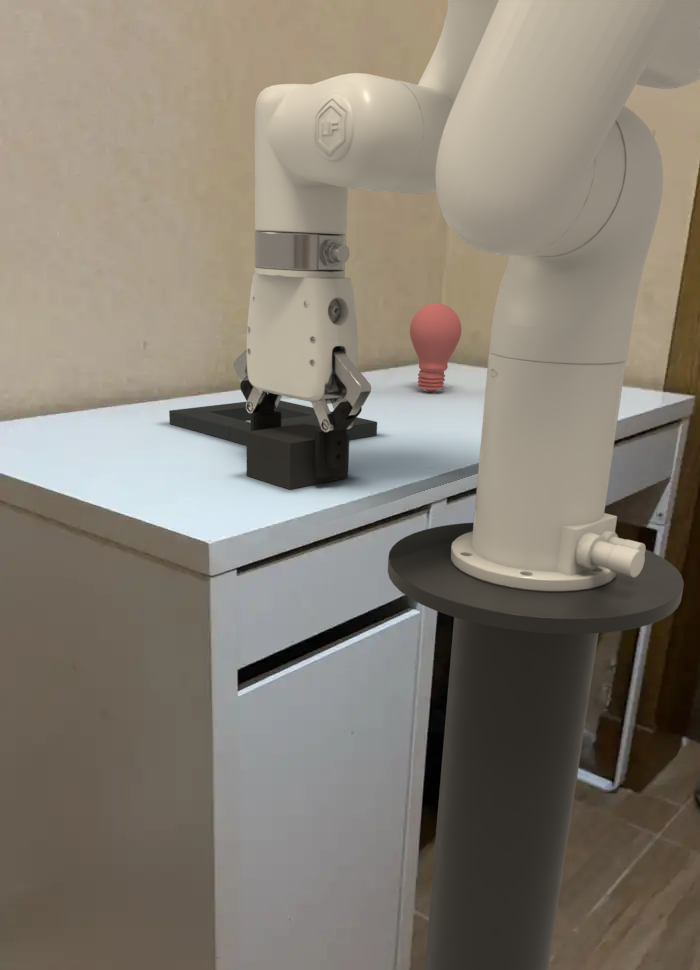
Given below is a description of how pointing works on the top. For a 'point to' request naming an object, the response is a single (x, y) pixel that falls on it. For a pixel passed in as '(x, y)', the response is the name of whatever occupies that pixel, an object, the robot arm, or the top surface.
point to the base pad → (232, 427)
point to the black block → (286, 456)
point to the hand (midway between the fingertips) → (296, 464)
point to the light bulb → (434, 342)
